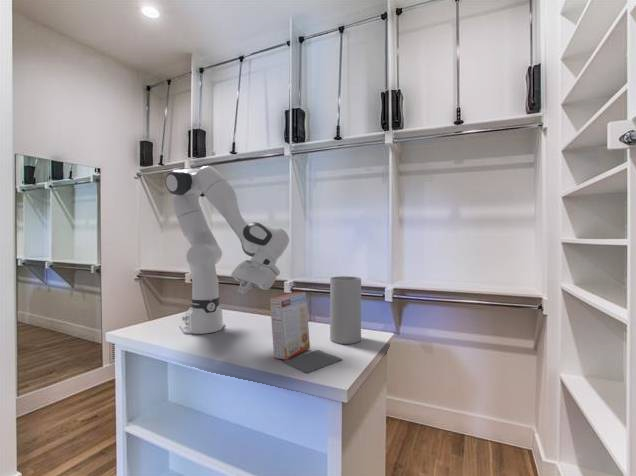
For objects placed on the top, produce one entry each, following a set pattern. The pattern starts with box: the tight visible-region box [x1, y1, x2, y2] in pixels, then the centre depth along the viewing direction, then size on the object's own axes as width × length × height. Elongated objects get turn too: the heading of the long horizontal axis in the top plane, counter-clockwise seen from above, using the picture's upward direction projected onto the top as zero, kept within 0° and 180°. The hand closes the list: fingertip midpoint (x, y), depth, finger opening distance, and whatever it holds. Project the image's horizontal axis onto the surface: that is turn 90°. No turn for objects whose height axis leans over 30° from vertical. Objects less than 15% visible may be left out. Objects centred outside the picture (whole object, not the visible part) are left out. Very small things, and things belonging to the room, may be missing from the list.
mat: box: [282, 349, 343, 374], centre depth 109 cm, size 12×16×1 cm
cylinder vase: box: [329, 275, 362, 345], centre depth 132 cm, size 12×12×25 cm
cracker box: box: [269, 291, 311, 361], centre depth 116 cm, size 14×6×21 cm, turn 145°
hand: (240, 292), depth 120 cm, fingers closed
